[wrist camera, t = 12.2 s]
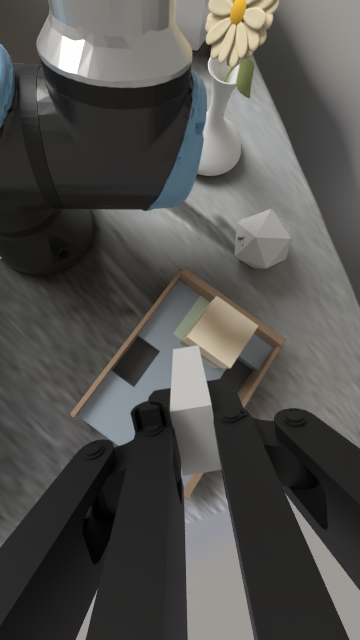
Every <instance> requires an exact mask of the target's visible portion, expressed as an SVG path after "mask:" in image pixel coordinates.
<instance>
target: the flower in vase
mask: <svg viewBox="0 0 360 640" xmlns="http://www.w3.org/2000/svg"><path fill="white" fill-rule="evenodd" d="M278 4H279V0H209V4H208V8H209V11H210V12H211V13H209V15H208V17H207V22H206V25H205V29H206V32H207V33H208V34H207V36H206V43H207V45H211V44H212V47H211V57H210V59H209V61H208V69H209V72H210V75H211V77H212V82H213V90H212V98H211V104H210V107H209V110H208V111H207V113H206V123H205V127H204V131H203V137H204V143H203V149H202V155H201V159H200V164H199V168H198V172H197V174H200V175H205V176H216V175H220V174H223V173H226V172H228V171H229V170H231V169H232V168H233V167H234V166H235V165H236V164H237V162H238V160H239V158H240V155H241V139H240V136H239V133H238V131H237V129H236V128H235V127H234V125H233V124H232V123H231V122H230V121H229V120H228V119H227V118H225V117H224V112H225V108H226V105H227V102H228V100H229V97H230V95H231V93H232V91H233V90H234V88H235V87H236V86H237V88H238V90H239V91H240V93H241V94H243V95H244V96H245V97H247V98H250V89H251V82H252V76H253V70H254V65H253V62H252V61H250V60H248V59H246V58H245V57H247V58H249V57H250V56H251V55H252V54H253V51H255V50H256V49H257V47H258V45H262V44H263V43H264V42H265V40H266V36H267V34H266V29H268V28H269V27H270V26H271V24H272V21H273V15H272V14H273V13H274V12H275V11H276V10H277V8H278Z"/></svg>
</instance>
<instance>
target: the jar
mask: <svg viewBox="0 0 360 640" xmlns="http://www.w3.org/2000/svg"><path fill="white" fill-rule="evenodd" d="M208 4H209V0H175V19H176V22H177V25H178V26H179V28H180V29H181V31H182V33H183V34H184V36H185V38H186V39H187V41H188V43H189V44H190V46H191V49H192V50H194V51H197V50H198V49H199V48H200V46H201V45H202V44H203V42H204V41H205V39H206V36H207V34H208V33H207V32H206V29H205V25H206V22H207V17H208V15H209V13H211V12H210V11H209V8H208Z"/></svg>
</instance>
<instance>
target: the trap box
mask: <svg viewBox="0 0 360 640" xmlns="http://www.w3.org/2000/svg"><path fill="white" fill-rule="evenodd" d="M216 296H218V297H219V298H221V299H222V300H223V301H225V302H226V303H228V304H229V305H230V306H232V307H233V308H234V309H236V310H237V311H239V312H240V313H241V314H243V315H244V316H246V317H247V318H248V319H250V320H251V321H252V322H254V323H255V324H257V325H258V327H257V329H256V330H255V332H254V333H253V335H252V336H251V338H250V339H249V341H248V343H247V344H246V346H245V347H244V349H243V350H242V352H241V353H240V355H239V356H238V358H237V359H236V361H235V362H234V364H233V365H232V367H231V368H213V367H212V366H211V365H209V364H208V363H206V362H205V361H204V360H202V363H203V368H204V372H205V377H206V381H210V380H216V379H223V378H227V379H229V380H230V381H232V382H233V384H234V386H235V389H236V391H237V393H238V396H239V398H240V400H241V403H242V405H243V408H244V407H245V406H246V404H247V402H248V401H249V399H250V398H251V396H252V394H253V393H254V391H255V389H256V388H257V386H258V385H259V383H260V381H261V380H262V378H263V377H264V375H265V373H266V372H267V370H268V368H269V367H270V365H271V364H272V362H273V360H274V359H275V357H276V356H277V354H278V352H279V351H280V349H281V348H282V346H283V344H284V342H285V340H286V339H284V338H283V337H281V336H280V335H279V334H277V333H276V332H275V331H273V330H272V329H270V328H269V327H268V326H266V325H265V324H263V323H262V322H261V321H259V320H258V319H256V318H255V317H254V316H252V315H251V314H250V313H248V312H247V311H245V310H244V309H243V308H241V307H240V306H238V305H237V304H236V303H234V302H233V301H231V300H230V299H229V298H227V297H226V296H225V295H223V294H222V293H220V292H219V291H218V290H216V289H215V288H213V287H212V286H211V285H209V284H208V283H206V282H205V281H204V280H202V279H201V278H200V277H198V276H197V275H195V274H194V273H193V272H191V271H190V270H188V269H187V268H186V267H185V269H184V270H182V269H180V270H179V272H178V273H177V274H176V276H175V277H174V278H173V279H172V281H171V282H170V283H169V285H168V286H167V287H166V289H165V290H164V291H163V293H162V294H161V295H160V297H159V298H158V299H157V300H156V302H155V303H154V304H153V306H152V307H151V308H150V310H149V311H148V312H147V314H146V315H145V316H144V318H143V319H142V320H141V322H140V323H139V324H138V325H137V327H136V328H135V329H134V331H133V332H132V333H131V335H130V336H129V337H128V339H127V340H126V341H125V343H124V344H123V345H122V346H121V348H120V349H119V350H118V352H117V353H116V354H115V356H114V357H113V358H112V360H111V361H110V362H109V364H108V365H107V366H106V368H105V369H104V370H103V371H102V373H101V374H100V375H99V377H98V378H97V379H96V381H95V382H94V383H93V385H92V386H91V387H90V389H89V390H88V391H87V393H86V394H85V395H84V396H83V398H82V399H81V400H80V402H79V403H78V404H77V406H76V407H75V408H74V410H73V411H72V412H71V414H70V415H71V416H73V417H75V416H76V415H77V416H79V417H80V418H81V419H83V420H84V421H85V422H87V423H88V424H90V425H91V426H92V427H94V428H95V429H96V430H98V431H99V432H101V433H102V434H103V435H105V436H106V437H107V438H109V439H110V440H111V441H113V442H114V443H116V444H117V445H118V446H120V445H123V444H125V443H128V442H130V441H131V440H133V439H134V436H135V430H134V426H133V422H132V418H131V414H130V412H131V411H132V409H133V408H134V407H135V406H137V405H138V404H140V403H142V402H145V401H148V398H149V396H150V395H151V394H152V392H153V391H155V390H161V389H167V388H171V379H172V361H173V349H179V348H185V347H184V346H183V345H182V344H180V342H181V341H182V339H183V338H184V336H185V335H186V334H187V332H188V331H189V329H190V328H191V327H192V325H193V324H194V322H195V321H196V320H197V318H198V317H199V315H200V314H201V313H202V311H203V310H204V309H205V308H206V307H207V306H208V304H209V303H210V302H211V301H212V300H213V299H214V298H215V297H216ZM202 475H203V473H198V474H192V475H185V476H183V474H182V469H181V477H182V481H183V486H184V498H185V499H186V500H187V499H188V498H189V496H190V494H191V493H192V491H193V490H194V488H195V486H196V485H197V483H198V482H199V480H200V478H201V477H202Z"/></svg>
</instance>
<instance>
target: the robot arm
mask: <svg viewBox="0 0 360 640" xmlns="http://www.w3.org/2000/svg"><path fill="white" fill-rule="evenodd" d="M48 1H49V6H50V12H49V16H48V18H47V20H46V22H45V24H44V26H43V28H42V30H41V32H40V34H39V37H38V39H37V49H38V53H39V57H40V61H41V64H42V65H34V64H19V63H12V61H11V58H10V56H9V55H8V53H7V51H6V50H5V49H4V47H3V46H2V45H1V44H0V260H1V261H3V262H4V263H5V264H7V265H8V266H10V267H11V268H13V269H15V270H17V271H19V272H22V273H25V274H30V275H51V274H55V273H59V272H62V271H64V270H66V269H68V268H70V267H71V266H73V265H74V264H76V263H77V262H78V261H79V260H80V259H81V258H82V257H83V256H84V255H85V253H86V252H87V250H88V249H89V247H90V244H91V242H92V238H93V233H94V223H93V218H92V214H91V212H90V209H142V210H143V211H148V210H152V209H157V208H173V207H175V206H178V205H179V204H181V203H183V202H184V201H185V199H186V198H187V197H188V195H189V193H190V191H191V189H192V187H193V184H194V182H195V179H196V175H197V172H198V168H199V164H200V159H201V155H202V149H203V143H204V137H203V131H204V127H205V123H206V113H207V96H206V87H205V84H204V81H203V79H202V77H201V76H200V75H198V74H196V72H194V71H192V70H191V65H192V49H191V46H190V44H189V43H188V41H187V39H186V38H185V36H184V34H183V33H182V31H181V29H180V28H179V26H178V25H177V22H176V19H175V0H48ZM130 414H131V418H132V422H133V426H134V430H135V436H134V439H133V440H131V441H130V442H128V443H125V444H123V445H120V446H118V447H115V448H114V446H113V443H112V442H111V441H109V440H104V439H103V440H96V441H94V442H91V443H89V444H87V445H85V446H84V447H82V448H81V449H80V450H79V451H78V452H77V453H76V454H75V456H74V457H73V458H72V459H71V461H70V462H69V463H68V464H67V466H66V467H65V468H64V469H63V471H62V472H61V473H60V474H59V476H58V477H57V478H56V479H55V480H54V482H53V483H52V484H51V485H50V487H49V488H48V489H47V490H46V492H45V493H44V494H43V495H42V497H41V498H40V499H39V500H38V502H37V503H36V504H35V505H34V507H33V508H32V509H31V510H30V511H29V513H28V514H27V515H26V516H25V518H24V519H23V520H22V521H21V523H20V524H19V525H18V526H17V528H16V529H15V530H14V531H13V533H12V534H11V535H10V536H9V538H8V539H7V540H6V541H5V542H4V544H3V545H2V546H1V547H0V640H76V637H77V635H78V633H79V630H80V628H81V626H82V624H83V621H84V619H85V617H86V614H87V612H88V610H89V607H90V605H91V603H92V600H93V598H94V596H95V593H96V591H97V595H96V599H95V603H94V607H93V612H92V616H91V620H90V624H89V628H88V633H87V637H86V640H187V639H188V638H187V599H186V560H185V519H184V486H183V481H182V477H181V469H182V474H183V476H185V475H192V474H198V473H205V472H211V471H218V470H222V474H223V480H224V486H225V492H226V498H227V501H228V506H229V511H230V517H231V522H232V526H233V532H234V537H235V542H236V547H237V553H238V557H239V563H240V568H241V573H242V578H243V583H244V588H245V593H246V599H247V604H248V609H249V614H250V619H251V624H252V630H253V635H254V640H349V638H348V635H347V633H346V631H345V629H344V626H343V624H342V622H341V620H340V617H339V615H338V613H337V611H336V608H335V606H334V604H333V601H332V599H331V597H330V595H329V593H328V590H327V588H326V586H325V583H324V581H323V579H322V577H321V574H320V572H319V570H318V567H317V565H316V563H315V561H314V559H313V556H312V554H311V551H310V549H309V547H308V545H307V542H306V540H305V538H304V536H303V533H302V531H301V529H300V526H299V524H298V522H297V520H296V517H295V515H294V513H293V511H292V508H291V506H290V504H289V501H288V499H287V497H286V495H287V496H288V497H289V499H290V500H291V501H292V503H293V504H294V505H295V506H296V508H297V509H298V510H299V512H300V513H301V514H302V515H303V517H304V518H305V519H306V521H307V522H308V523H309V525H310V526H311V527H312V529H313V530H314V531H315V533H316V534H317V535H318V536H319V538H320V539H321V540H322V542H323V543H324V544H325V546H326V547H327V548H328V549H329V551H330V552H331V553H332V555H333V556H334V557H335V559H336V560H337V561H338V563H339V564H340V565H341V566H342V568H343V569H344V570H345V572H346V573H347V574H348V576H349V577H350V578H351V579H352V581H353V582H354V583H355V585H356V586H357V587H358V589H359V590H360V448H358V447H357V446H355V445H354V444H353V443H351V442H350V441H349V440H347V439H346V438H345V437H343V436H342V435H340V434H339V433H338V432H336V431H335V430H334V429H332V428H331V427H330V426H328V425H327V424H326V423H324V422H323V421H321V420H320V419H319V418H317V417H316V416H315V415H313V414H312V413H310V412H308V411H306V410H302V409H296V408H290V409H284V410H282V411H280V412H278V413H277V414H276V415H275V416H274V421H265V420H258V419H255V418H253V417H251V415H250V413H249V412H248V411H247V410H245V409H244V408H243V405H242V403H241V400H240V398H239V396H238V393H237V391H236V389H235V386H234V384H233V382H232V381H230V380H229V379H227V378H223V379H216V380H210V381H206V377H205V372H204V368H203V363H202V359H201V354H200V349H199V345H196V346H191V347H185V348H179V349H173V361H172V379H171V388H167V389H161V390H155V391H153V392H152V394H151V395H150V396H149V398H148V401H145V402H142V403H140V404H138V405H137V406H135V407H134V408H133V409H132V411H131V412H130ZM285 493H286V495H285ZM97 589H98V590H97Z"/></svg>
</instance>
